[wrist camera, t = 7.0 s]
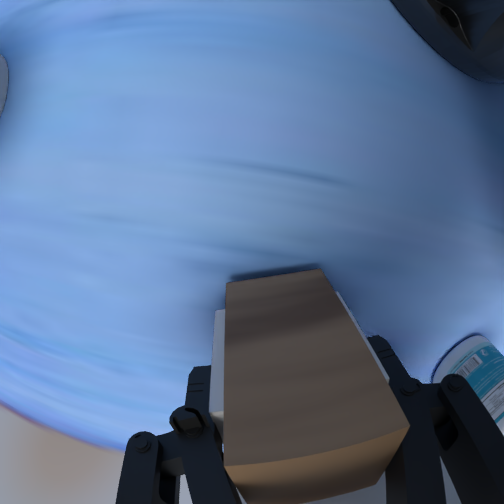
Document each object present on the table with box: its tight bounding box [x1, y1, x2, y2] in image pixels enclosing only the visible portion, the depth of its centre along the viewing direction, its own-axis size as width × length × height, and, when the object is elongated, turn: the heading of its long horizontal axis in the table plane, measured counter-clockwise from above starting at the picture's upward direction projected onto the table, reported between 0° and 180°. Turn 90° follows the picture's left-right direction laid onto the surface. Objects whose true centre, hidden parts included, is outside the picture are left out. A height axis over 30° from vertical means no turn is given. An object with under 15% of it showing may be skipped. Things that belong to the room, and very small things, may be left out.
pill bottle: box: [433, 335, 504, 435], centre depth 15 cm, size 8×7×14 cm
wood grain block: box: [223, 268, 410, 504], centre depth 13 cm, size 14×5×10 cm, turn 8°
